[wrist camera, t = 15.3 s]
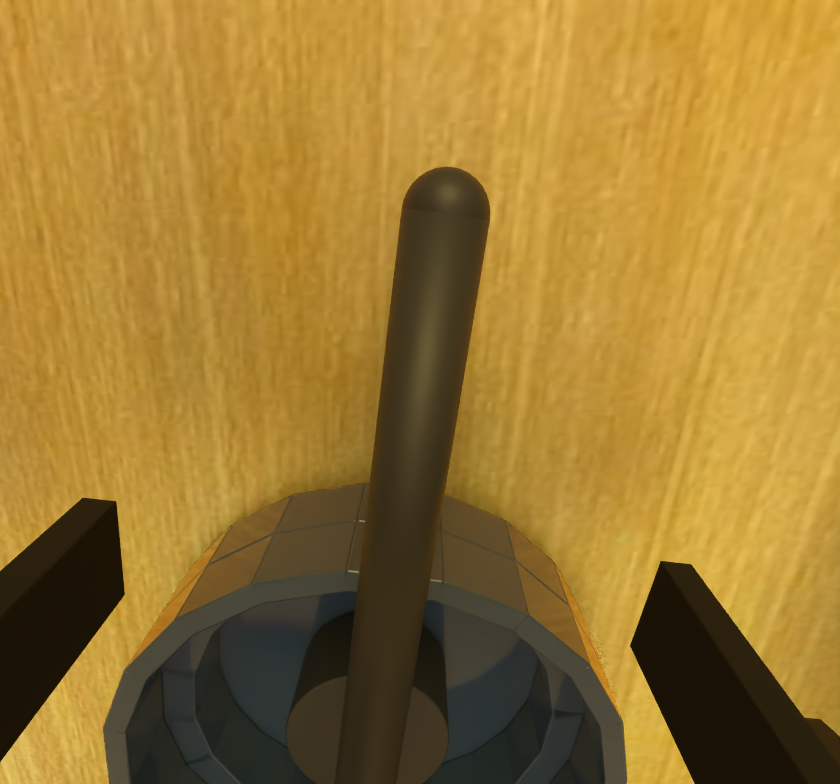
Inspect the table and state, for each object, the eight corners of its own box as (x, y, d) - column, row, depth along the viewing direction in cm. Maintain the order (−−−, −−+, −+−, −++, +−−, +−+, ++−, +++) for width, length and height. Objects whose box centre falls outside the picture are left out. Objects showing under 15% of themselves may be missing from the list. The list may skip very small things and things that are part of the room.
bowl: (173, 448, 21) (79, 540, 15) (624, 502, 21) (696, 610, 16) (185, 763, 27) (123, 910, 21) (533, 797, 28) (560, 949, 22)
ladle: (434, 727, 24) (440, 970, 16) (300, 713, 24) (240, 952, 16) (532, 207, 17) (627, 187, 9) (345, 180, 17) (278, 136, 9)
